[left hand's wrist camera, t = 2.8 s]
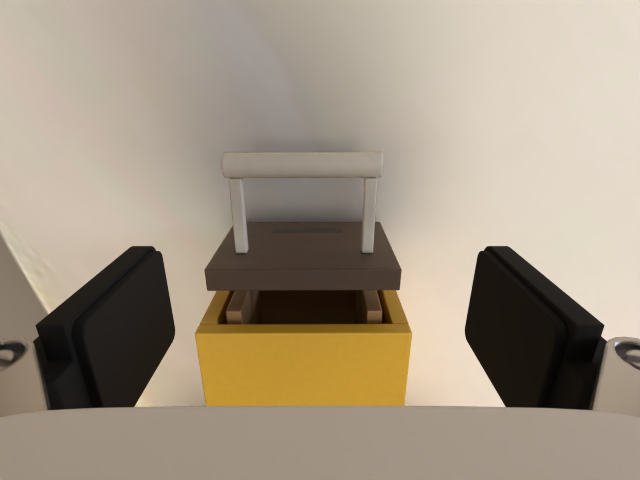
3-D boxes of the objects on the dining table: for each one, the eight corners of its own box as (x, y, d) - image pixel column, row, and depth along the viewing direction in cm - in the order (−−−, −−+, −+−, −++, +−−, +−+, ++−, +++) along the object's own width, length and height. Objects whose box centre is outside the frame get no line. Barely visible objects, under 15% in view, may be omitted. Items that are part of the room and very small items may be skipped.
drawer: (227, 140, 23) (189, 160, 16) (385, 139, 23) (411, 160, 16) (252, 413, 31) (235, 499, 25) (368, 413, 31) (381, 499, 25)
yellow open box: (232, 258, 27) (193, 333, 18) (384, 258, 27) (412, 332, 18) (251, 440, 34) (228, 555, 25) (371, 440, 34) (388, 554, 25)
